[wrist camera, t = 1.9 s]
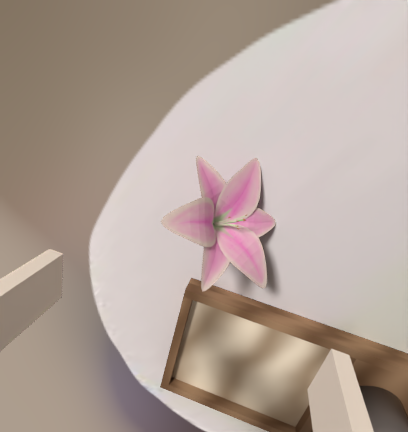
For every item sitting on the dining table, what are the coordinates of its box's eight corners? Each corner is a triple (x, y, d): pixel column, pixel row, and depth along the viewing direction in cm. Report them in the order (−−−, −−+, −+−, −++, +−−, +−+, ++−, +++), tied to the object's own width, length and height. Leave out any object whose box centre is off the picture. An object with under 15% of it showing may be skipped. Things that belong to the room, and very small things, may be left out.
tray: (461, 372, 29) (477, 393, 26) (384, 459, 35) (392, 482, 33) (191, 277, 33) (185, 289, 30) (166, 371, 39) (160, 387, 37)
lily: (260, 271, 31) (307, 301, 22) (156, 273, 29) (158, 306, 20) (265, 166, 31) (315, 149, 22) (159, 159, 29) (163, 138, 19)
